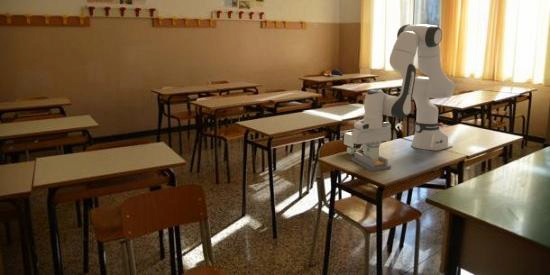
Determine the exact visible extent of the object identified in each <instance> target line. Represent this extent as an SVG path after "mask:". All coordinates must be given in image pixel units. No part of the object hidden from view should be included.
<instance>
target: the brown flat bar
mask: <svg viewBox="0 0 550 275" xmlns="http://www.w3.org/2000/svg"><path fill="white" fill-rule="evenodd" d="M376 165H384V162H382V161H380V160H378V161H375V166H376Z"/></svg>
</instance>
